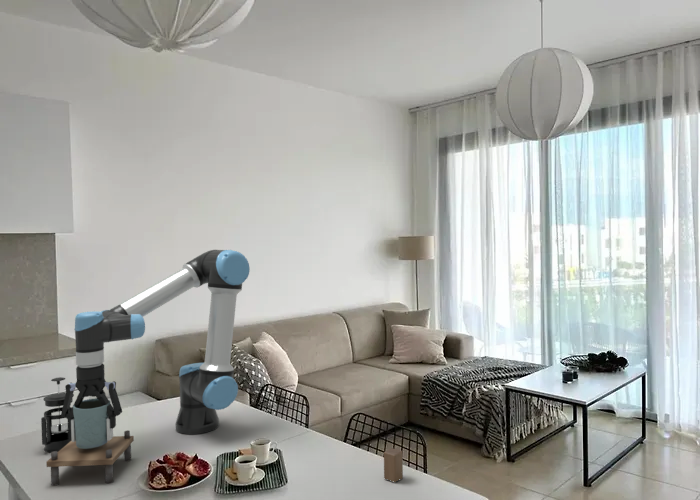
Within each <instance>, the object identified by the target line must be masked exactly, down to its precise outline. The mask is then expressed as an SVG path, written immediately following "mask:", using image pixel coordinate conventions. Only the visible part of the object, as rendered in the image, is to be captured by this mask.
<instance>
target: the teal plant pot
mask: <svg viewBox="0 0 700 500" xmlns="http://www.w3.org/2000/svg"><path fill="white" fill-rule="evenodd" d="M108 400H109V403H108V404H107V405H104V406H102V404H101V403H100V401H99V399H97V397H96V398H87V399H83V401H82V403H81V405H80V407H79V408H76V407H75V405H74V404H73V405H72V407H73V414H74V422H75V433H76V446H77V447H78V448H82V449H89V448H95V447H99V446H102V445H104V444H106V443H107V442H108V441H107V421H106V419H107V418H108V417H109V416H108V414H107V406H109V405H110V404H111V399H108Z"/></svg>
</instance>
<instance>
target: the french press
mask: <svg viewBox="0 0 700 500" xmlns="http://www.w3.org/2000/svg"><path fill="white" fill-rule="evenodd" d="M64 380H66V377H60V376H59V377H54V378H52V379H51V380H50V382H56V385H57V393H54V394H49V395H47V396H44V397H43V401H44V406H45V407H49V408H50V409H48V410H45V411H44V412H43V417H41V421H40V422H41V424H40V425H41V427H40V428H41V444H42V445H44V448H43V450H44V451H45V452H46V453H51V452H54V451H57V452H59V451H60V450H61V449H62V448H63V447H64V446H66V445H67V444H68V443H69V442H70V441H72V437H71V430H69V429H68V422H67V423H61V419H63V418H62V417H61V412H62V408H63V404H64V399H65V395H66V392H60V385H61V382H62V381H64ZM74 396H75V394H74V393H73V397H74ZM73 397H72V401H71V404H72V403H73V402H74V401H73V399H74V398H73ZM51 407H53V408H52V409H51ZM72 407H73V406H72ZM72 407H71V406H70V409H69V413H70V411H71V409H72ZM53 413H58V414H55V415H52V414H53ZM52 420H58V423H57V424H55V425H53V424H52V423H53V421H52Z"/></svg>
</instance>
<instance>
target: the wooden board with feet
mask: <svg viewBox="0 0 700 500" xmlns="http://www.w3.org/2000/svg"><path fill="white" fill-rule="evenodd" d="M123 433H124V434H123V435H119V436H118V435H117V436H115V435H113V438H112V439H111V440H110V441H108V442H107V443H106V444H104V445H102V446H99V447H95V448H89V449H82V448H78V447H77V446H76V441H75V442H72V441H70V442H69V443H68V444H67V445H66V446H64V447H63V448H62V449H61V450H60V451H59V452H57V451H54V452H50V458H49V459H48V460H46V465H45V466H46V468H50V483H51V484H50V485H51V486H57V485H59V484H60V469H59V468H61V467H84V466H104V467H105V468H104V469H105V470H104V471H105V474H104V475H105V484H111V483H113V482H114V463H115V462H117V460H118V459H119V458H120V457H121V456H122V454H123V460H124V462H130V461H131V460H132V443H133V442H134V441H135V438H134V435H131V431H130V430H124V431H123Z"/></svg>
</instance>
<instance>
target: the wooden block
mask: <svg viewBox="0 0 700 500" xmlns="http://www.w3.org/2000/svg"><path fill="white" fill-rule="evenodd" d="M403 464H404V463H403V450H400V449H396V448H393V447H392V448H389V449H387V450H385V451H384V452H383V478H385V479H388V480H391V481H394V482H396V481H398V480H399V479H401V480H402V479H403V477H404V475H403V473H404V472H403V470H404V469H403V466H404V465H403ZM385 479H384V480H385ZM399 481H400V480H399ZM399 481H398V482H399ZM396 483H397V482H396Z"/></svg>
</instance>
